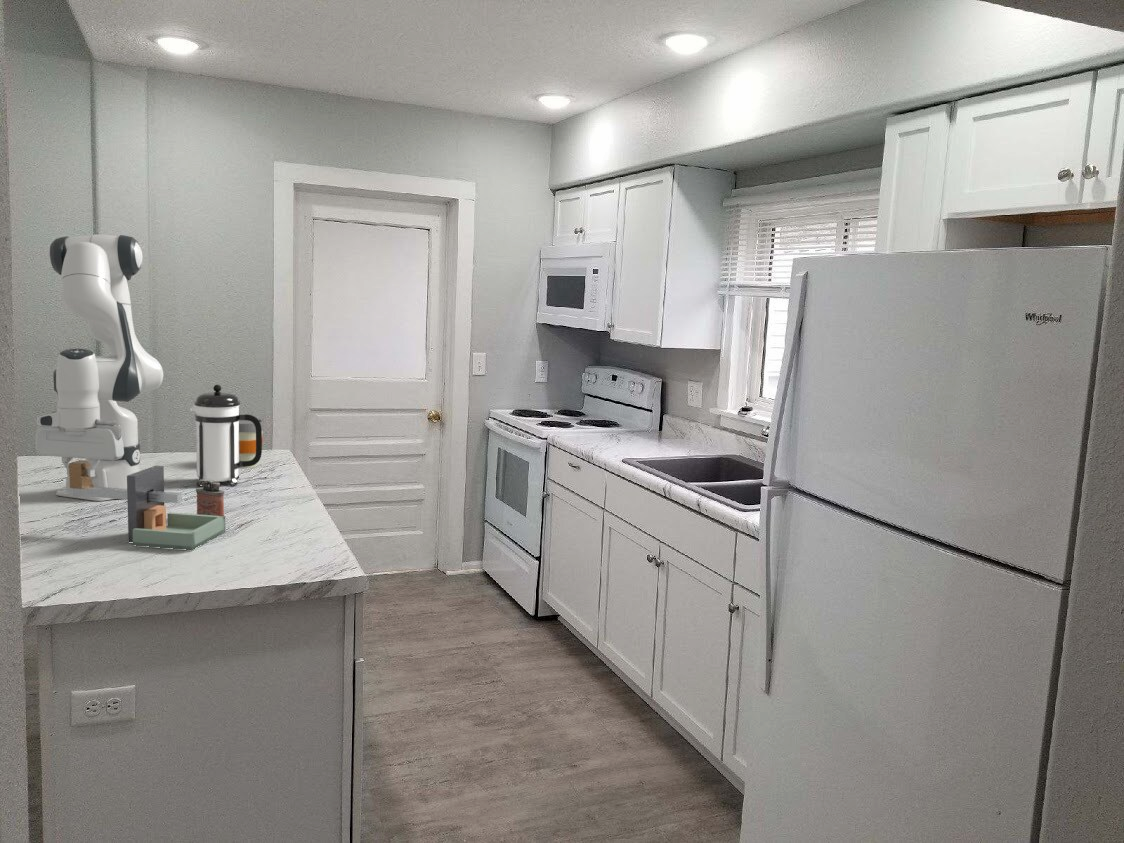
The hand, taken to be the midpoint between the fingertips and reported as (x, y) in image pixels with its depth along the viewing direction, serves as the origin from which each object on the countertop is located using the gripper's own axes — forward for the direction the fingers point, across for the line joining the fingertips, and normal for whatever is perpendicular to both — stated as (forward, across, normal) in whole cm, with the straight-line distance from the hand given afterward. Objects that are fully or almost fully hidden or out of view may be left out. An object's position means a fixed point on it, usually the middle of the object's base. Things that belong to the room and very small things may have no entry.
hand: (81, 476), depth 208 cm
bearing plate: (+14, -16, 0) cm, 21 cm away
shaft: (+5, -11, 0) cm, 12 cm away
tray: (+14, -25, 0) cm, 28 cm away
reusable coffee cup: (+14, -1, -83) cm, 84 cm away
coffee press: (+14, -6, -58) cm, 60 cm away
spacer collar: (+13, -18, 0) cm, 22 cm away
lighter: (+14, -22, -19) cm, 32 cm away
